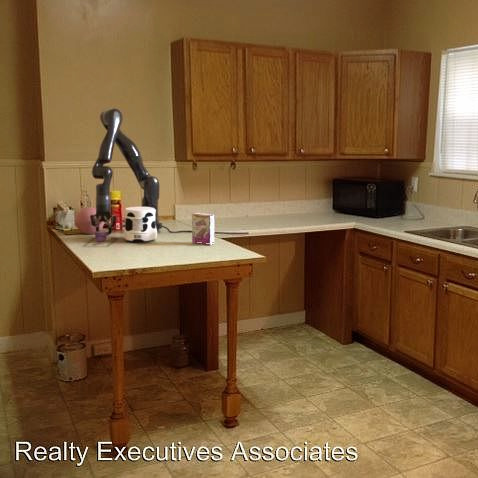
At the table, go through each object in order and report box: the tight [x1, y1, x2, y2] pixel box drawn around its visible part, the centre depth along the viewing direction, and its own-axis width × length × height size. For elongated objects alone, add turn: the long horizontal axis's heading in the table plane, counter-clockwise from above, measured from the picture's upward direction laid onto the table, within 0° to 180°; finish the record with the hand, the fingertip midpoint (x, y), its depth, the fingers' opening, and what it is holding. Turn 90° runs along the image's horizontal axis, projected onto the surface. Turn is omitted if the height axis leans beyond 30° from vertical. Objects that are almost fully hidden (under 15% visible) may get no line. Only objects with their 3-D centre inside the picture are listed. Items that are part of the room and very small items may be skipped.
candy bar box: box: [191, 212, 215, 246], centre depth 325 cm, size 11×5×16 cm, turn 71°
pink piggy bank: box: [74, 206, 105, 235], centre depth 340 cm, size 15×20×15 cm
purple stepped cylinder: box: [94, 230, 107, 237], centre depth 321 cm, size 6×6×3 cm
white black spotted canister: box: [123, 206, 158, 244], centre depth 326 cm, size 17×17×18 cm
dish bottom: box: [94, 236, 107, 243], centre depth 322 cm, size 6×6×3 cm
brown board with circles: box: [90, 237, 112, 247], centre depth 322 cm, size 12×22×1 cm, turn 5°
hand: (104, 233), depth 329 cm, fingers closed on dish top, 5 cm apart
